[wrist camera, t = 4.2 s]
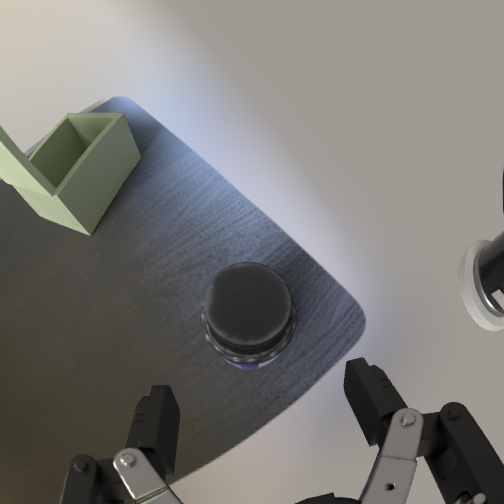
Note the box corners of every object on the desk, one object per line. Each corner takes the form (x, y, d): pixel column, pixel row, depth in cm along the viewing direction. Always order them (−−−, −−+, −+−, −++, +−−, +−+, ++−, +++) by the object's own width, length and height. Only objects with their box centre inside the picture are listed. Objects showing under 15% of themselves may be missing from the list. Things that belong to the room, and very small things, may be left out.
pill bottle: (202, 333, 25) (167, 294, 15) (253, 291, 27) (251, 229, 17) (247, 384, 23) (241, 384, 13) (299, 339, 24) (328, 304, 15)
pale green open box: (87, 150, 37) (67, 113, 30) (141, 157, 35) (123, 113, 28) (40, 216, 31) (10, 182, 24) (90, 236, 30) (57, 196, 23)
